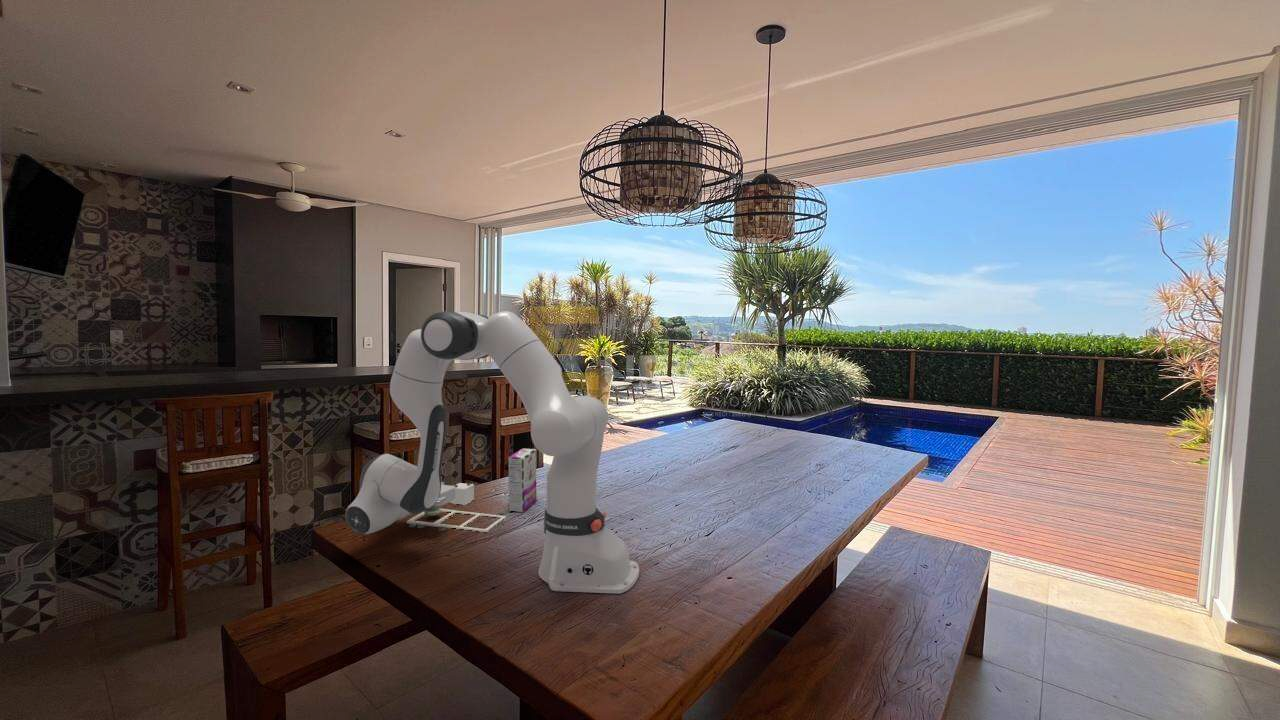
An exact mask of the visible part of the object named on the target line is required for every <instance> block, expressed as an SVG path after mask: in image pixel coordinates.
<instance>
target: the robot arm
mask: <svg viewBox="0 0 1280 720" xmlns="http://www.w3.org/2000/svg"><path fill="white" fill-rule="evenodd" d="M487 357H490V358H491V359H492V360H493V362H494V363H495V365H496V366H497V367H498V368H499V370H500V371H501V372H502V374H503V376H504V377H505V378H506V380H507V381H508V383H509V384H510V386H511V387H512V388H513V389H514V391H515V392H516V393H517V395H518V397H519V398H520V400H521V401H522V402H521V403H523V407H524V409H525V411H526V413H527V416H528V419H529V421H530V436H531V440H532V443H533V445H534V446H535V448H536V450H538V451H539V452H540V453H542V454H543V455H546V456H549V457H553V458H552V461H551V465H550V467H549V470H548V472H547V474H546V508H545V509H544V514H543V515H544V517H543V529H544V531H543V533H544V537H545V538H544V545H543V551H542V556H541V562H540V564H539V568H538V573H537V574H538V576H539V579H541V580H542V581H544V582H545V583H547V584H548V587H549V589H550V590H551V591H552V592H553V591H554V592H571V593H572V592H573V593H590V594H591V593H597V594H614V595H615V594H616V595H617V594H623V593H625V592H627V591H629V590H630V589H631V588H633V587H634V586H635V584H636V583H637V581H638V578H639V577H640V566H639V564H638V563H637V561H635V560H631V558H630V552H629V549H628V546H627V544H626V542H625V541H624V540H622V539H621V538H620V537H618V536H617V535H616V534H615V533H614V532H613V531H611V530H610V529H609V528H607V527H606V526H605V518H606V517H607V511H606V510H605V511H604V512H603V513H602V512H601V511H600V510H599V509H598V508H597V493H598V492H597V491H598V490H597V488H598V487H597V486H598V485H597V483H598V482H597V481H598V470H599V465H600V460H601V454H602V449H603V443H604V436H605V432H606V429H607V426H608V425H607V424H608V423H609V413H608V409H607V407H606V406H605V404H604V403H603V402H602V401H601V400H600V399H598V398H597V397H593V396H589V395H578V396H575V397H573V396H572V394H571V393H570V391H569V390H568V387H567V385H566V383H565V381H564V378H563V369H562V367H561V366H560V364H559V363H558V362H557V360H556V359H555V358H554V356H553V355H552V353H551V352H550V351H549V350H548V348H547V347H546V346H545V344H544V343H543V342H542V340H541V339H540V337H538V336H537V334H536V333H535V332H534V331H533V330H532V328H531V327H530V326H529V325H528V324H527V323H526V322H525V321H523V320H522V318H520V317H519V315H517V314H516V313H514V312H512V311H507V310H503V311H499V312H496V313H493V314H492V315H490V316H487V315H483V314H477V313H471V312H469V311H461V310H460V311H452V310H443V311H439V312H435V313H433V314H431V315H430V316H429V317H427V318H426V320H424V322H423V323H422V326H421V328H418V329H415V330H412V331H411V332H410V333H409V334H408V336H407V338H406V340H405V341H404V343H403V345H402V347H401V349H400V351H399V354H398V357H397V359H396V361H395V365H394V369H393V372H392V375H391V378H390V384H389V393H390V394H389V395H390V397H391V399H392V402H393V403H394V405H396V407H397V408H398V410H399V411H401V413H403V414H404V415H405V416H406V417H407V418H408V419H409V420H410V421H411V423H413V425H414V426H415V428H416V429H417V431H418V433H419V437H420V446H419V452H418V460H417V465H414V464H412V463H409V462H408V461H406V460H404V459H402V458H400V457H397V456H395V455H393V454H390V453H387V452H386V453H382V454H379V455H377V456H376V457H373V458H372V459H371V460H369V462H367V463H366V464H365V465H364V467H363V469H362V471H361V473H360V476H359V492H358V494H357V496H356V497H355V498H354V500H353V501H352V502H351V503H350V504H349V505H348V506H347V507H346V509H345V514H344V515H345V521H346V524H347V526H348V527H349V528H350V529H351V530H353V532H355V533H358V534H360V535H370V534H373V533H376V532H378V531H379V532H380V531H381V530H384V529H385V528H387V527H389V526H391V525H392V524H394V523H395V522H397V521H399V520H402V519H405V518H406V517H408V516H410V515H417V514H420V513H422V512H424V511H426V510H428V509H430V508H431V507H433V506H439V507H440V506H443V505H445V504H448V503H450V501H452V500H454V499H455V487H454V486H455V485H449V484H448V485H447V484H445V481H442V479H441V477H442V465H443V457H444V448H445V441H446V435H447V434H446V433H447V421H448V413H447V410H446V408H445V407H444V405H443V399H442V386H443V381H444V378H445V374H446V371H447V368H448V367H449V364H450V363H451V362H452V361H453V360H457V361H458V360H459V361H471V360H480V359H485V358H487Z"/></svg>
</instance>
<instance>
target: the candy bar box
mask: <svg viewBox="0 0 1280 720" xmlns="http://www.w3.org/2000/svg"><path fill="white" fill-rule="evenodd" d="M507 460H508V461H507V463H508V467H507V468H508V473H507V474H508V475H507V476H508V477H507V478H508V512H510V511H516V512H515V513H525V512H526V511H527V510H528V509H529V508H530V507H532V505H533V504H534V503H535V502H537V448H536V449H535V448H526V447H525V448H523V447H522V448H521V449H519V450H518V451H516V452H515V453H513V454H512V455H510V456H508V459H507Z"/></svg>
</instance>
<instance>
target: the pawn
mask: <svg viewBox="0 0 1280 720" xmlns="http://www.w3.org/2000/svg"><path fill="white" fill-rule="evenodd" d="M441 509H442V508H441V507H440V506H433V507H431V508H430V509H428V510H426V511H423V512H424V514H425V515H424V516H428V517H430V516H436V515H437V516H438V515H440V514H441V513H442V512H441Z"/></svg>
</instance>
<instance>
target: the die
mask: <svg viewBox="0 0 1280 720" xmlns="http://www.w3.org/2000/svg"><path fill="white" fill-rule="evenodd" d="M453 486H454V487H455V499H454V500H452V501H450V502H449V503H453V504H452V505H456V504H460V505H459V506H467V505H468V503H469V504H470V503H472V502H473V501H472V500H474V501H475V484H473V483H470V482H469V483H462V482H459V483H457V484H454V485H453ZM471 501H472V502H471ZM461 504H462V505H461ZM466 504H467V505H466Z"/></svg>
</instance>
